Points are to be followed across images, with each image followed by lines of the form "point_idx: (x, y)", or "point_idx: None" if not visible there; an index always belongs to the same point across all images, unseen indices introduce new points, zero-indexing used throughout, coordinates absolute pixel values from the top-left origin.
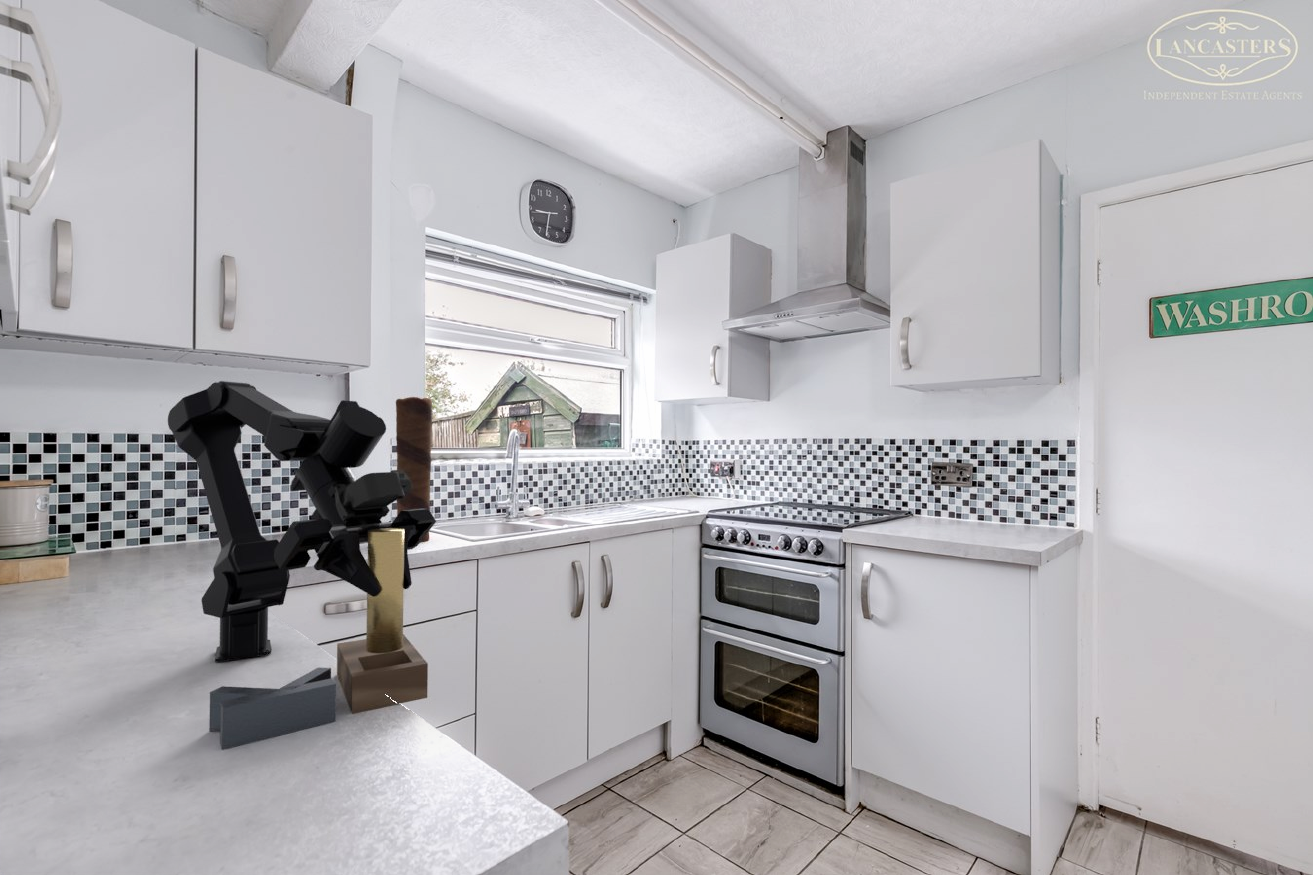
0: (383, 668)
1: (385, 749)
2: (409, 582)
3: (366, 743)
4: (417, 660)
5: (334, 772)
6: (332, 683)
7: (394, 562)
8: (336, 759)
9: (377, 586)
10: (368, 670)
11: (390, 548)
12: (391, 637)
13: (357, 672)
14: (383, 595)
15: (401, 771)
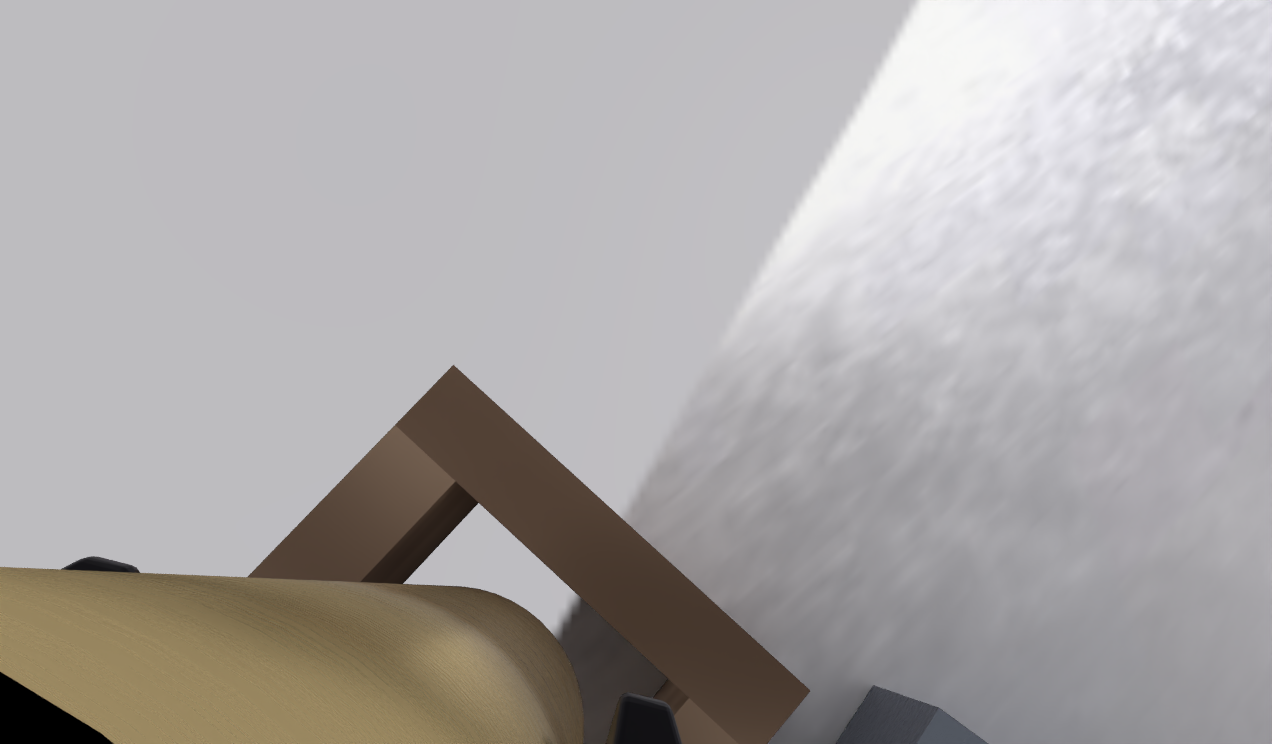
0: (615, 597)
1: (1026, 246)
2: (111, 571)
3: (1010, 363)
4: (415, 469)
5: (1249, 316)
6: (944, 734)
7: (350, 610)
8: (1167, 386)
9: (645, 736)
10: (679, 671)
11: (354, 693)
12: (511, 607)
13: (730, 721)
14: (545, 694)
15: (1146, 75)
